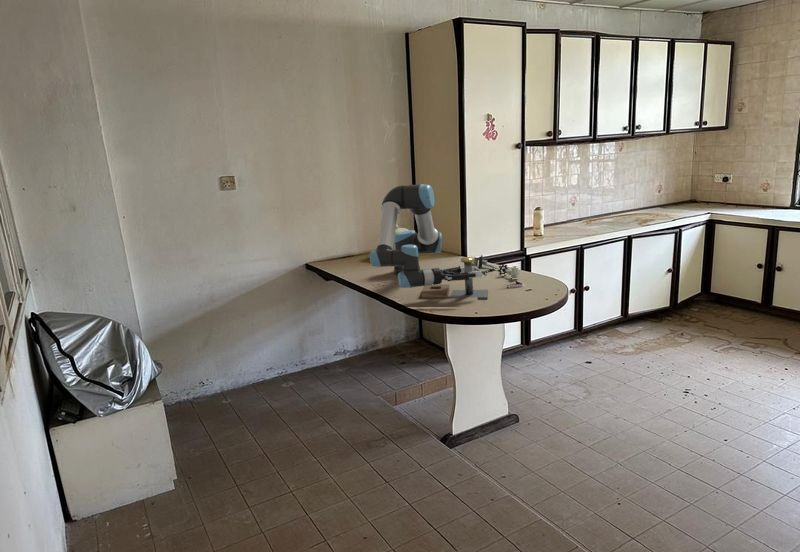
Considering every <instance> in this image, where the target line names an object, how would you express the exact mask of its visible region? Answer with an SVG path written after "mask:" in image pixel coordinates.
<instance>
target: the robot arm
mask: <svg viewBox="0 0 800 552" xmlns="http://www.w3.org/2000/svg"><path fill="white" fill-rule="evenodd" d="M434 206H435V193H434V190H433V187H432V186H431V185H430V184H424V183H421V184H407V185H406V184H405V185H397V186H395V187H393V188H391V189H390V190H389V191H388V192H387V194H385V196H384V198H383V199H382V202H381V207H380V208H381V212H382V214H381V219H380V224H379V225H380V226H379V231H378V237H377V243H376V247H375V248H376V249H374V250H371V251H370V253H369V263H370V266H372V267H376V268H377V267H378V268H381V267H393V273H394V274H395V275H397V281H398V286H399V287H400V288H401V289H407V288H408V289H410V288H417V287H424V286H426V287H427V285H442V281H443V280H444V281H447V282H452V281H453V282H454V281H455V282H456V281H465V280H469V278H473V279H474V278H481V277H483V273H482V271H477V270H475V269H474V266H473V267H472V272H468V273H465V272H464V267H461V266H460V265H458V266H455V267H451V268H445V269H441V268H440V267H434V268H426V269H421V266H420V260H419V257H420V256H419V254H422V255H423V254H433V255H435V254H439V253H441V251H442V237H443V235H442V232H440V231H438V230H437V229H436V228H435V225H434V220H433V216H432V211H431V210H432V208H434ZM401 210H410V212H411V213H412V214H413V215H414V218H415V221H416V225H417V229H418V232H416V230H414V229H410V230H409V229H408V231H403V232H400V233H397V234H396V235H395V230H396V225H397V224H398V223H397V222H398V216H399V214H400V212H401ZM394 237H395V249H396V250H393V243H394Z"/></svg>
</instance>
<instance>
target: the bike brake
mask: <svg viewBox="0 0 800 552" xmlns="http://www.w3.org/2000/svg"><path fill="white" fill-rule="evenodd" d="M483 256H484V255H483V254H481V255H480V256H479V258H478V257H474V258H475V261H474V262H472V267H473V266H474V271H482V274H486V273H488V272H487V271H489V272H492V271H491V270H493V271H495V270H494V268H495V269H498V268H499V267H497V266H495V265H493V264H491V263H488V259H487V260H484V258H483ZM483 266H485V267H487V268H488V267H489V268H490V269H483ZM481 268H482V269H483V270H482V269H481ZM498 270H499V269H498ZM485 272H486V273H485Z"/></svg>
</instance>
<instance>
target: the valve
mask: <svg viewBox="0 0 800 552" xmlns="http://www.w3.org/2000/svg"><path fill="white" fill-rule="evenodd" d="M498 268H499V269H498V270H497V272H498V275H499V276H502V274H504V275H506V274H505V273H507V274H508V275H510V278H511V277H512V278H518V277H519V276H520V271H519V266H513V265H512V266H511V267H510V269H509V268H508V265H507V264H504V263H501V265H499V266H498Z"/></svg>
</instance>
